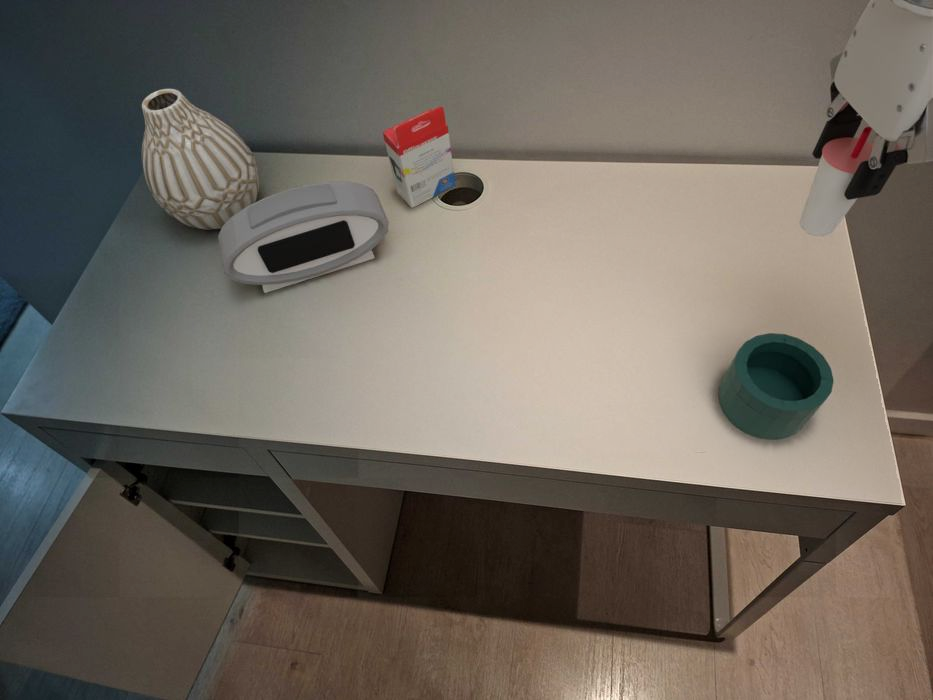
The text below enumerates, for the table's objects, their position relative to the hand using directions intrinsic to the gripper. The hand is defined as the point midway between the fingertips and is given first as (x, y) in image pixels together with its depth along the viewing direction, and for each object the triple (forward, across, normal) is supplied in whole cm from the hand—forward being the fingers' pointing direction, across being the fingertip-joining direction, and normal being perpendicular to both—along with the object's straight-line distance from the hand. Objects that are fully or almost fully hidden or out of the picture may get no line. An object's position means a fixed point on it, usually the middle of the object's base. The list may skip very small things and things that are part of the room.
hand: (844, 172), depth 58 cm
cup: (+7, 0, 0) cm, 7 cm away
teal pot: (+23, -12, +6) cm, 26 cm away
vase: (+22, +38, +74) cm, 86 cm away
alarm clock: (+22, +23, +58) cm, 66 cm away
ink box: (+22, +35, +41) cm, 58 cm away
